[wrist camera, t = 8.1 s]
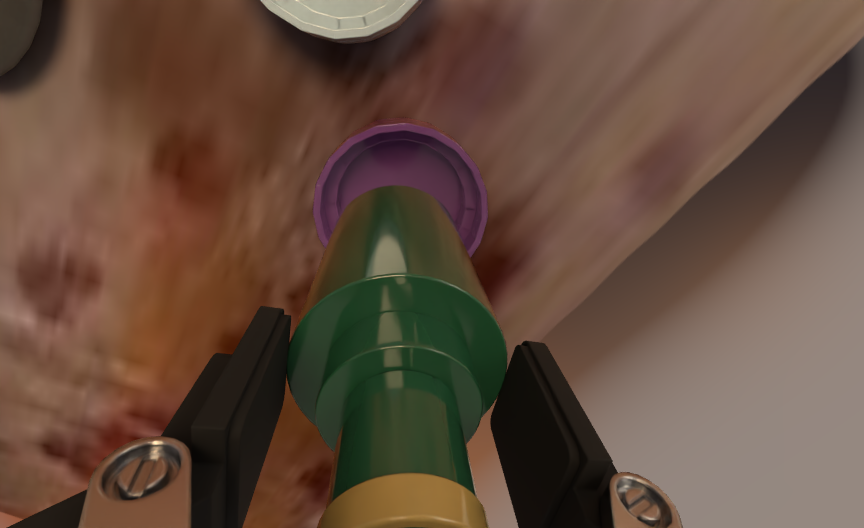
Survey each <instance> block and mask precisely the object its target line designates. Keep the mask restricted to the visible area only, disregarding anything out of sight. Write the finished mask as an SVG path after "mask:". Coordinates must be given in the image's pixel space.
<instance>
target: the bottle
mask: <svg viewBox="0 0 864 528" xmlns="http://www.w3.org/2000/svg"><path fill="white" fill-rule="evenodd" d="M506 370H507V348H506V342H505V339H504V336H503V333H502V330H501V328H500V325H499V323H498V321H497V318H496V316H495V314H494V311H493V309H492V307H491V304H490V302H489V300H488V298H487V295H486V293H485V291H484V288H483V286H482V284H481V281H480V279H479V277H478V274H477V272H476V270H475V267H474V265H473V263H472V260H471V258H470V256H469V254H468V251H467V249H466V247H465V244H464V242H463V240H462V237H461V235H460V233H459V230H458V228H457V226H456V223H455V221H454V219H453V217H452V216H451V214H450V213H449V211H448V210H447V209H446V208H445V206H444V205H443V204H442V203H441V202H439V201H438V200H437V199H436V198H435V197H433V196H431V195H430V194H428V193H426V192H424V191H422V190H419V189H416V188H413V187H408V186H400V185H391V186H383V187H378V188H375V189H372V190H369V191H367V192H365V193H363V194H361V195H359V196H358V197H357V198H355V199H354V200H352V201H351V202H350V203H349V204H348V205H347V206H346V207H345V209H344V210H343V211H342V212H341V214H340V216H339V217H338V219H337V221H336V224H335V226H334V229H333V231H332V234H331V237H330V239H329V242H328V244H327V247H326V249H325V252H324V255H323V257H322V260H321V262H320V265H319V267H318V270H317V273H316V275H315V278H314V280H313V283H312V286H311V288H310V291H309V293H308V296H307V298H306V301H305V304H304V306H303V309H302V311H301V314H300V316H299V319H298V322H297V324H296V327H295V329H294V332H293V335H292V337H291V340H290V342H289V347H288V355H287V367H286V374H287V381H288V384H289V388H290V391H291V393H292V396H293V398H294V400H295V402H296V404H297V405H298V407H299V408H300V410H301V411H302V412H303V414H304V415H305V416H306V417H307V418H308V419H309V420H310V421H311V422H312V423H313V424H314V425H315V426H317V428H318V430H319V432H320V435H321V437H322V438H323V440H324V441H325V443H326V444H327V445H328V446H329V448H330V449H331V450H332V451H333V452H335V453H334V460H333V466H332V473H331V479H330V486H329V492H328V499H327V505H326V510H325V511H324V513H323V515H322V516H321V518H320V520H319V523H318V526H317V528H489V525H488V520H487V517H486V513H485V510H484V508H483V505H482V504H481V503H480V501H479V500H478V498H477V495H476V490H475V485H474V480H473V475H472V470H471V465H470V460H469V455H468V450H467V445H466V444H467V443H468V442H469V441H470V439H471V438H472V436H473V435H474V433H475V432H476V430H477V428H478V426H479V423H480V420H481V418H482V417H483V415H484V414H485V413H486V412H487V411H488V410H489V409H490V407H491V406H492V404H493V403H494V401H495V400H496V399H497V397H498V394H499V392H500V390H501V388H502V386H503V382H504V379H505V376H506Z"/></svg>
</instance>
